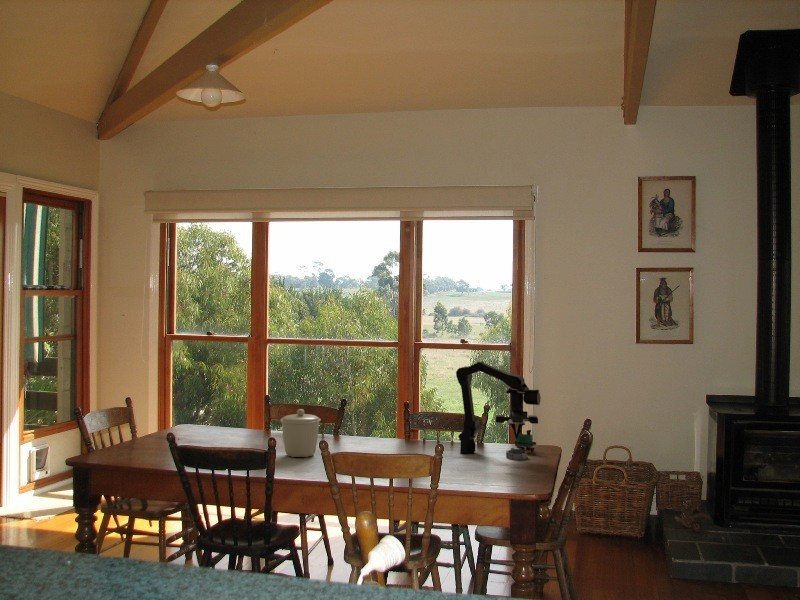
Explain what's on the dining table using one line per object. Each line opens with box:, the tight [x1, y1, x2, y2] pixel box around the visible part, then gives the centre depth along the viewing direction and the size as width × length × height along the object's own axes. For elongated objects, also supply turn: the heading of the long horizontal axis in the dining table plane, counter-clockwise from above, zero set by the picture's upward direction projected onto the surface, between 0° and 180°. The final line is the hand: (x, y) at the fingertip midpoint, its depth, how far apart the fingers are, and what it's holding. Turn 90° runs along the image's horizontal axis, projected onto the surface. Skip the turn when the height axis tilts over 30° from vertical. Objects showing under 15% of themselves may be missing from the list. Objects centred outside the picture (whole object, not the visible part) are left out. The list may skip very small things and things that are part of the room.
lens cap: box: [510, 447, 522, 454], centre depth 337 cm, size 5×5×4 cm
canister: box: [279, 408, 322, 458], centre depth 339 cm, size 18×18×21 cm
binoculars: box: [514, 428, 537, 454], centre depth 351 cm, size 9×11×10 cm
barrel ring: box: [505, 449, 528, 461], centre depth 337 cm, size 9×9×2 cm
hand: (516, 438), depth 337 cm, fingers closed
